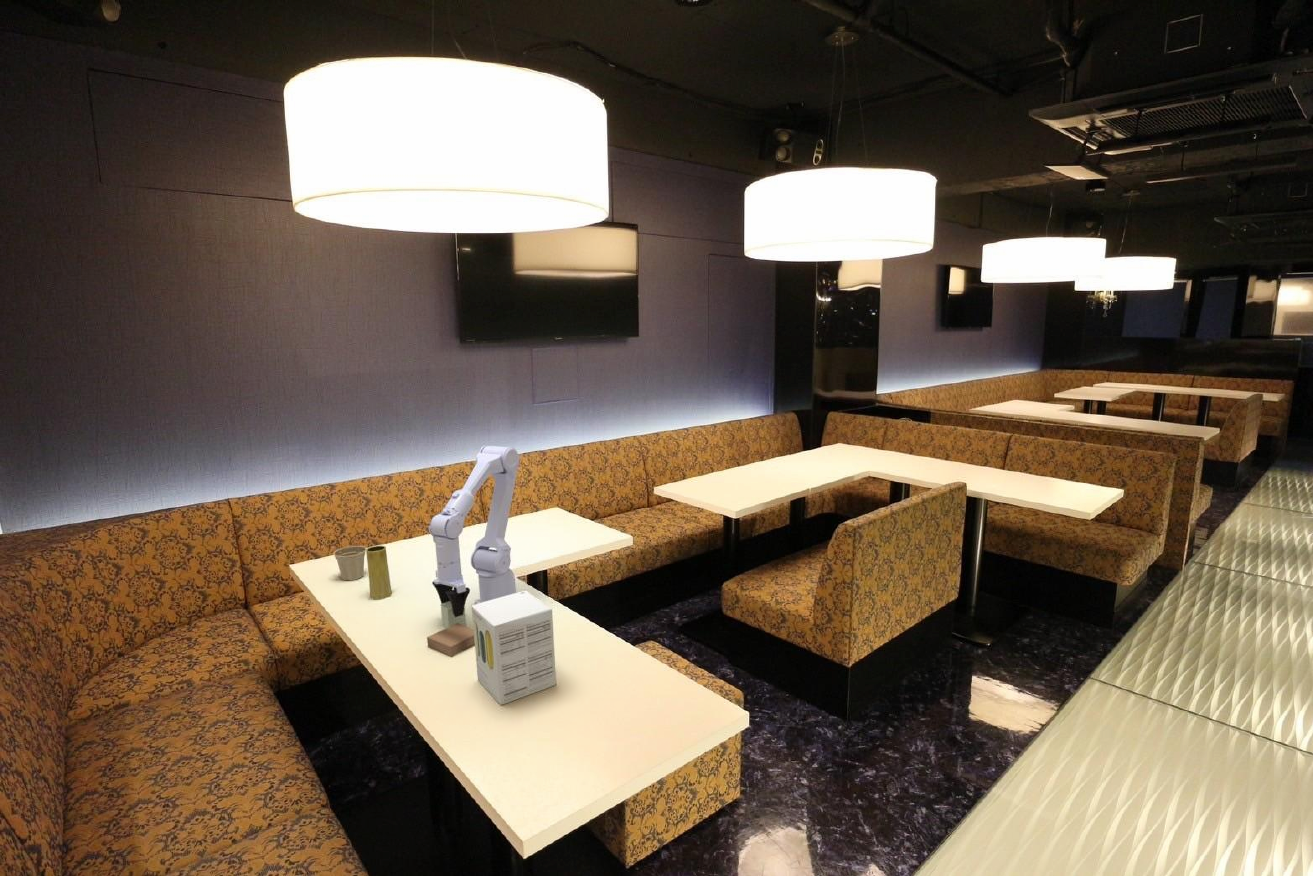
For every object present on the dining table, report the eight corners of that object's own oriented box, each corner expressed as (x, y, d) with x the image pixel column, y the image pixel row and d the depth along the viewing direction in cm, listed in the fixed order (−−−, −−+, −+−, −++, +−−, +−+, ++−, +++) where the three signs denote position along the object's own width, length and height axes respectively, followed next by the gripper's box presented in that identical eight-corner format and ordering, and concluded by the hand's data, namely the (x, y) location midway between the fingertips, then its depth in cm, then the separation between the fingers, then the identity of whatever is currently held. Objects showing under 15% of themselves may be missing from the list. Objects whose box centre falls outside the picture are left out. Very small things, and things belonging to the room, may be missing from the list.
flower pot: (375, 575, 210) (372, 548, 209) (348, 585, 202) (345, 558, 201) (357, 569, 215) (354, 544, 214) (330, 579, 207) (326, 553, 206)
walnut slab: (458, 634, 169) (457, 623, 168) (481, 643, 164) (481, 631, 163) (428, 648, 162) (427, 637, 161) (451, 658, 157) (450, 647, 156)
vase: (384, 600, 190) (379, 552, 188) (365, 599, 192) (359, 551, 189) (396, 591, 196) (391, 545, 194) (377, 590, 197) (372, 544, 195)
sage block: (459, 620, 176) (457, 599, 175) (466, 626, 172) (464, 604, 171) (442, 625, 173) (440, 604, 172) (449, 631, 170) (447, 609, 169)
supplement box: (475, 679, 146) (469, 604, 143) (531, 660, 154) (526, 589, 151) (499, 706, 136) (493, 626, 133) (558, 685, 143) (553, 608, 140)
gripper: (422, 557, 173) (427, 606, 175) (444, 572, 162) (448, 624, 164) (449, 550, 177) (452, 599, 179) (472, 565, 166) (475, 616, 168)
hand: (452, 610), depth 172 cm, fingers open, 7 cm apart
